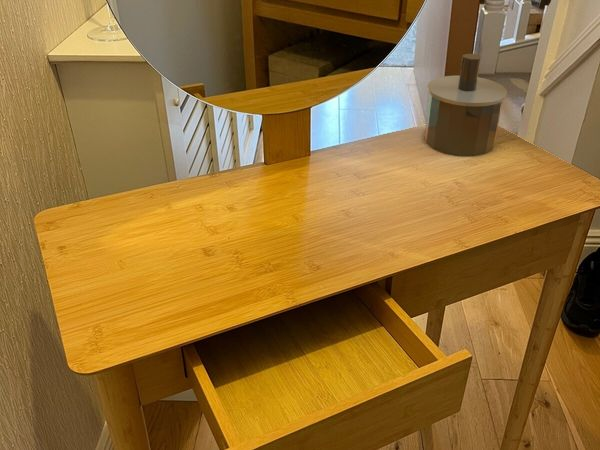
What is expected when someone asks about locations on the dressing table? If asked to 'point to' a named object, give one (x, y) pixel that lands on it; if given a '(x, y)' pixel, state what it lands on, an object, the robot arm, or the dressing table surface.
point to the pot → (461, 128)
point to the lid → (467, 86)
